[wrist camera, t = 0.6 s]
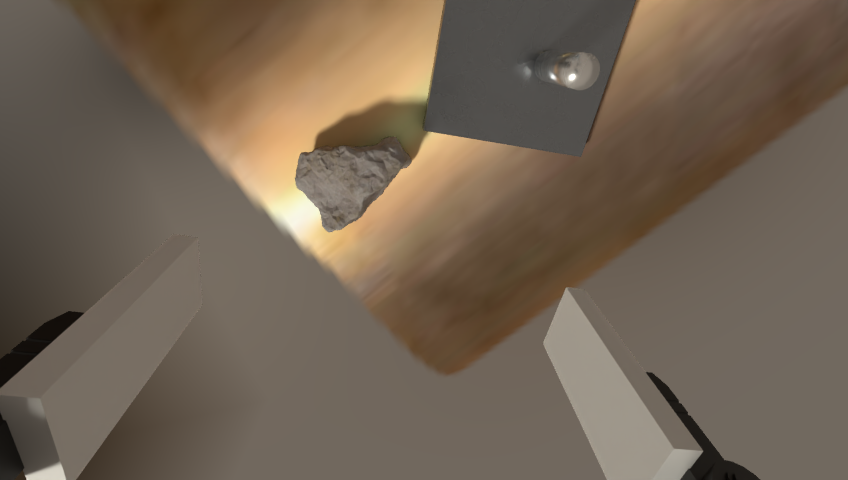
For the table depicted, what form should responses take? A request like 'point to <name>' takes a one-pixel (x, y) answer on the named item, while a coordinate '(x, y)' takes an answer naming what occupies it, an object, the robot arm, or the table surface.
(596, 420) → the robot arm
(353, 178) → the stone
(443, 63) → the carrier
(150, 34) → the table surface
